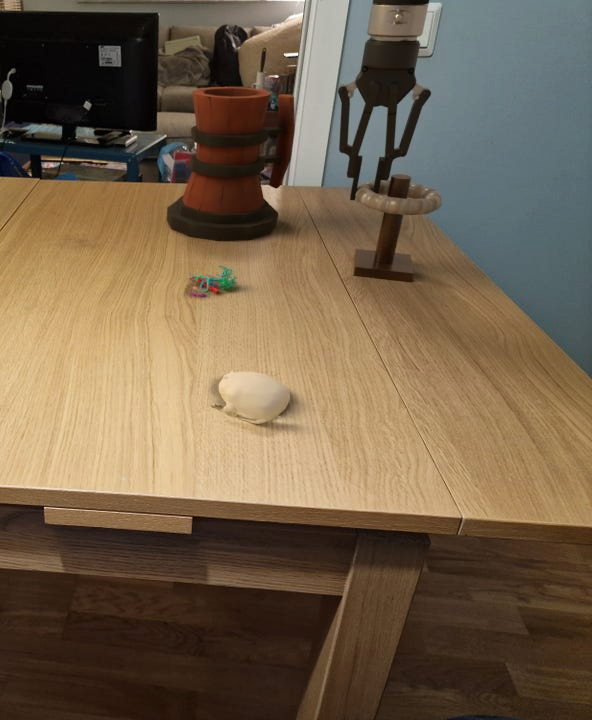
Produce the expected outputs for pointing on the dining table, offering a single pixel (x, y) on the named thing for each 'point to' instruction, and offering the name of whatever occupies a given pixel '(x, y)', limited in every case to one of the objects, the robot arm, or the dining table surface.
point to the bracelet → (399, 199)
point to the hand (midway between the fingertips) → (363, 198)
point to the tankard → (232, 165)
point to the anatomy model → (209, 280)
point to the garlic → (253, 396)
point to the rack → (387, 243)
